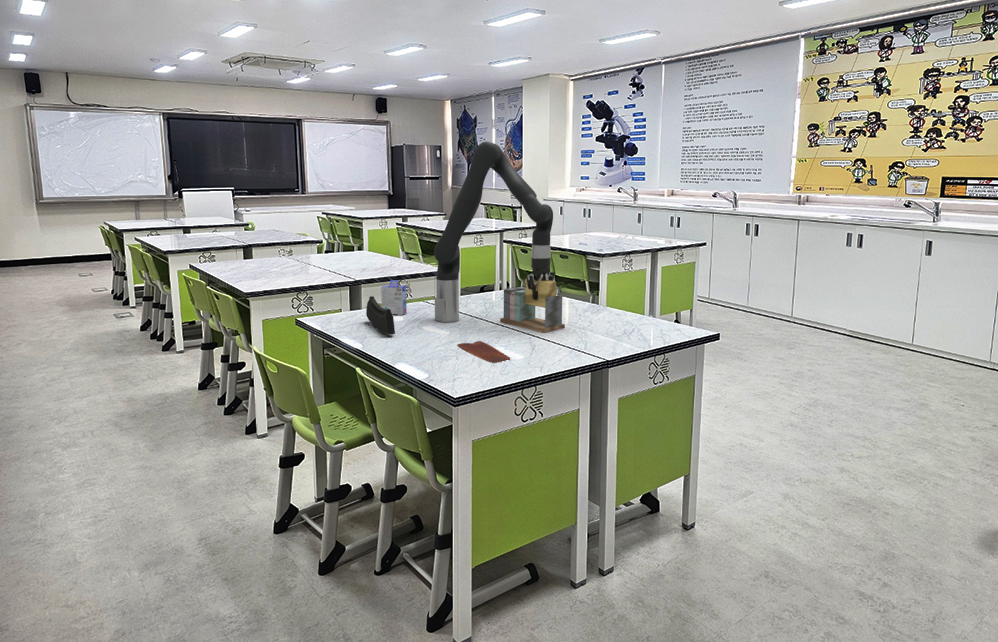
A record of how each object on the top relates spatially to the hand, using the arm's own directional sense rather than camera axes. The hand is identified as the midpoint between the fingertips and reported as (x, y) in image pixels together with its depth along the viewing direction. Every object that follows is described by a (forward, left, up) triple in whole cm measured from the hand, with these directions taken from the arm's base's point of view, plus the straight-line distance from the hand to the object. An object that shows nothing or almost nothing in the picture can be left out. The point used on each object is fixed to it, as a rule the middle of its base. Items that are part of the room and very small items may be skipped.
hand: (540, 298), depth 271 cm
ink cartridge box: (-30, +59, -12) cm, 67 cm away
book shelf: (0, +4, -11) cm, 12 cm away
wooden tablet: (-42, -15, -12) cm, 46 cm away
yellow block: (0, 0, -2) cm, 2 cm away
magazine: (-50, +38, -12) cm, 64 cm away
